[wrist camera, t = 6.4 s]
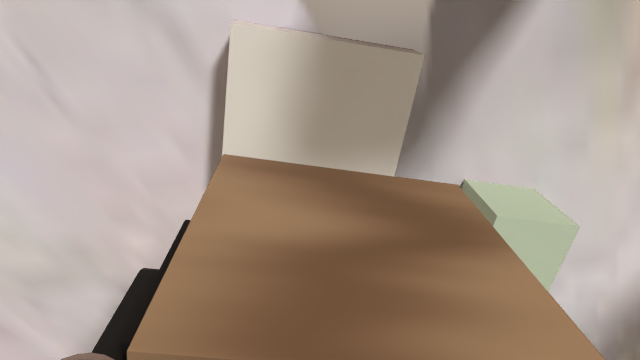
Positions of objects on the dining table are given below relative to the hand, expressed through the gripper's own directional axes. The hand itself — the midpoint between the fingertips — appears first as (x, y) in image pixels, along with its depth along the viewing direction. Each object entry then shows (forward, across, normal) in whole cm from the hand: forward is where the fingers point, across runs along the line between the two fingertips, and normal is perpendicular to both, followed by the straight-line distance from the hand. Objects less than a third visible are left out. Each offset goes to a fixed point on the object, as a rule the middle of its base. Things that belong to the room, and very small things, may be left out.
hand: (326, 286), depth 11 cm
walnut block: (+1, 0, 0) cm, 1 cm away
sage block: (+16, -13, +5) cm, 21 cm away
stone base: (+15, 0, 0) cm, 15 cm away
